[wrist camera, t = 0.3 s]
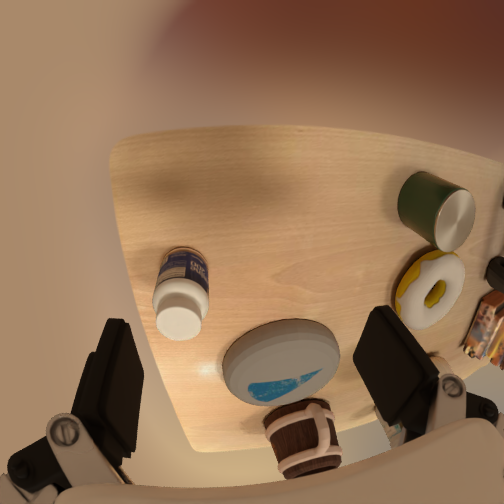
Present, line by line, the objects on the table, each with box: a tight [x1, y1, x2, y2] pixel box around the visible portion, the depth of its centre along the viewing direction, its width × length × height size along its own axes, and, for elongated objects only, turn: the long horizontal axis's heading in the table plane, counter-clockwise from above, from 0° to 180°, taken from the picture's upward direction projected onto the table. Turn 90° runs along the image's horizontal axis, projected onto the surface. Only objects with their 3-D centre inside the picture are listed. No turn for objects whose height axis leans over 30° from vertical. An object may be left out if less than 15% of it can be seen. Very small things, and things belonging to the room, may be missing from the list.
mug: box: [264, 400, 343, 480], centre depth 43 cm, size 20×15×15 cm
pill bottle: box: [152, 248, 209, 341], centre depth 26 cm, size 5×5×10 cm
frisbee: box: [222, 319, 340, 406], centre depth 39 cm, size 18×18×5 cm
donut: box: [395, 250, 465, 330], centre depth 36 cm, size 14×14×5 cm
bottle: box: [375, 407, 402, 449], centre depth 49 cm, size 7×7×20 cm
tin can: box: [398, 172, 476, 252], centre depth 28 cm, size 8×8×8 cm
